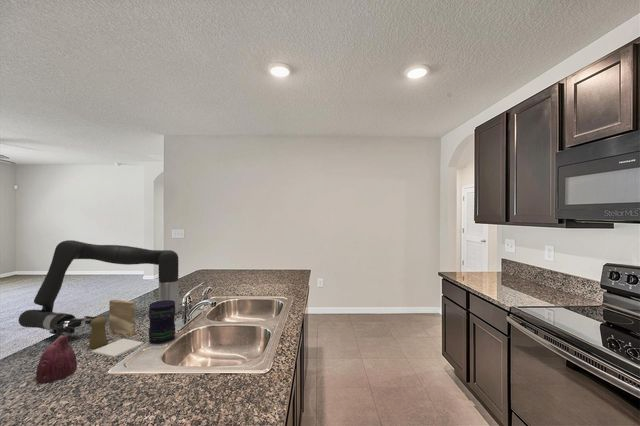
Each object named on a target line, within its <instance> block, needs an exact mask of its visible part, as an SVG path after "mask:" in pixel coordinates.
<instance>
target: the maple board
mask: <svg viewBox="0 0 640 426" xmlns="http://www.w3.org/2000/svg"><path fill="white" fill-rule="evenodd" d="M108 303H109V304H108V305H109V306H108V308H109V310H108V311H109V313H108V314H109V316H108V317H109V321H108V324H109V325H108V326H109V327H108V330H107V332H106V334H110V335H113V334H116V335H117V334H118V335H120V336H121V335H122V336H123V337H126V338H129V337H132V336H134V335H136V334H137V333H138V331H137V330H136V302H135V301H130V300H129V301H128V300H120V299H111V300H109V302H108ZM112 333H113V334H112Z"/></svg>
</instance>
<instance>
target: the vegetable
mask: <svg viewBox="0 0 640 426" xmlns="http://www.w3.org/2000/svg"><path fill="white" fill-rule="evenodd" d="M77 369H78V366H77V356H76V353H75V350H74V349H73V348H72V346H71V345H70V342H69V337H68V335H67V333H61V334H60V335H58V337H57V338H56V339H55V340H54V341H53V342H52V343H50V344H49V345H48V346H47V347H46V348H45V349H44V351H43V353H42V355H41V356H40V358H39V361H38V364H37V367H36V375H35V376H36V377H35V380H36V382H37V383H40V384H48V383H51V382H55V381H58V380H61V379H65V378H67V377H69V376H71V375H73V374H74V373H75V372H76V371H77Z"/></svg>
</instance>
